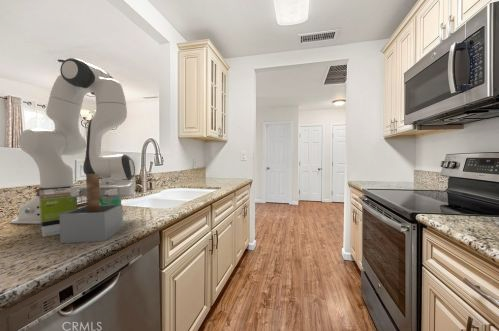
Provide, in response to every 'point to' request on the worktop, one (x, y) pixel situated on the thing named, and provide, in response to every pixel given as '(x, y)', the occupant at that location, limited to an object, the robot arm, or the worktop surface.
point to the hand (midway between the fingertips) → (91, 193)
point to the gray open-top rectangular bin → (90, 224)
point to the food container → (110, 201)
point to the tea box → (54, 208)
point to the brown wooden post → (93, 193)
